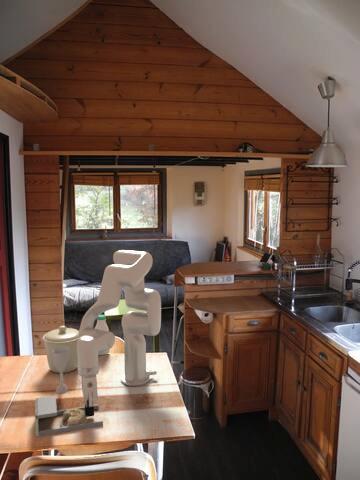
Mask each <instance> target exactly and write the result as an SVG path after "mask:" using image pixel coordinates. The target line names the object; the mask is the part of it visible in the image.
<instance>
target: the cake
mask: <svg viewBox="0 0 360 480" xmlns="http://www.w3.org/2000/svg"><path fill="white" fill-rule="evenodd" d="M73 408H74V409H72V408H69V409H70V410H67V411H65V412H64V413H63V414H62V417H61V419H60V422H59V425H60V427H66V426H72V425H78V424H85V423H87V421H88V417H86V415H85V411H83V410H81V409H75V408H76V407H73ZM65 422H67V424H66V425H65Z"/></svg>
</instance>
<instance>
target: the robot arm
mask: <svg viewBox="0 0 360 480" xmlns="http://www.w3.org/2000/svg"><path fill="white" fill-rule="evenodd" d="M112 259H113V263H114V264H109V265H107V266H106V267H105V269H104V273H103V277H102V279H101V280H102V281H101V284H100V287H99V288H100V290H99V293H98V298H97V300H96V302H95V303H94V304H93V305H92V306H91V307H89V308H88V310H87V311H86V312H85V313H84V315H83V317H82V319H81V322H80V327H79V330H78V331H79V335H78V340H77V356H78V366H77V375H78V376H79V377H81V379H80V380H81V391H82V396H83V400H84V401H83V402H84V407H85V415H86V418H89V417H94V416H95V409H94V405H95V404H94V402H98V401H99V398H98V397H99V396H98V394H99V393H98V379H97V375H98V374H99V355H98V354H99V353H101V352H104V351H107V350H109V349H110V350H111V349H112V348H113V346H115V343H116V336H115V334H114V333H113V332H112V331H110V330H109V331H106V330H100V329H95V327H94V323H95V321H96V320H97V317H98V316H99V315H102V314H103V313H105V312H107V311H109V310H114V309H116V308H118V306H119V304H120V301H121V296H122V292H123V287H124V303H125V306H126V307H127V308H129V309H133V310H130V311H127V312H125V313H123V315H122V318H121V327H122V333H123V339H124V340H123V341H124V343H123V345H124V346H123V348H124V350H123V351H124V374H122V376H121V381H120V382H122V384H124V385H126V386H128V387H129V386H131V387H136V386H137V387H138V386H143V385H145V384H148V382H149V381H150V377H151V376H154V375H157V373H158V372H157V370H156V369H155V370H153V368H149V369H148V368H147V349H146V348H147V344H146V343H147V342H146V339H145V336H149V337H150V336H151V337H154V336H157V335H158V334H159V333H160V331H161V327H162V299H161V294H160V293H159V291H158V290H156V289H154V288H153V289H152V288H146V286H145V277H146V275H147V274H148V273H149V272H150V270H151V268H152V266H153V261H154V260H153V256H152V254H150V253H149V252H147V251H139V250H130V249H129V250H127V249H126V250H125V249H121V250H120V249H119V250H117V251H115V252H114V253H113V255H112ZM137 310H139V311H137ZM143 311H145V312H143ZM93 327H94V328H93Z"/></svg>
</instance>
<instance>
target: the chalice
mask: <svg viewBox="0 0 360 480" xmlns="http://www.w3.org/2000/svg"><path fill="white" fill-rule="evenodd" d="M68 350H69V348H68V347H57V348H54V349H53V350H52V352H53V358H54V364H55V366H56V368H57V370H58V371H60V373H59V381H60V383H59V384H58V385H57V387H56V388H55V392H56V393H58V394H64V393H66V392H68V390H69V388H68V386H67V384H65V383H64V382H63V381H64V378H63V377H64V373H62V371H64V370H65V367H66V365H67V362H68Z"/></svg>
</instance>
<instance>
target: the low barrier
mask: <svg viewBox="0 0 360 480" xmlns="http://www.w3.org/2000/svg"><path fill="white" fill-rule="evenodd" d="M34 405H35V406H34V410H35V412H34V413H35V414H34V417H35V419H34V420H35V436H36V437H41V436H47V435H53V434H59V433H65V432H71V431H76V430H82V429H88V428H94V427H100V426H104V420H98V421H91V422H86V423H85V424H78V425H72V426H67V425H65V426H66V427H62V426H60V427H55V428H49V429H43V430H39V429H40V428H39V427H40V426H39V424H40V423H39V419H43V418H51V417H57V416H60V415H62V416H63V413H64V412H65V411H67V410H70V409H74V408H75V409H81V410H83V411H85V406H79V407H73V408H67V409H66V408H65V409H59V410H57V409H58V408H57V407H58V406H57V397H56V395H50V396H44V397H37V398H35V404H34ZM99 409H100V407H99V404H94V410H99Z"/></svg>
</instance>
